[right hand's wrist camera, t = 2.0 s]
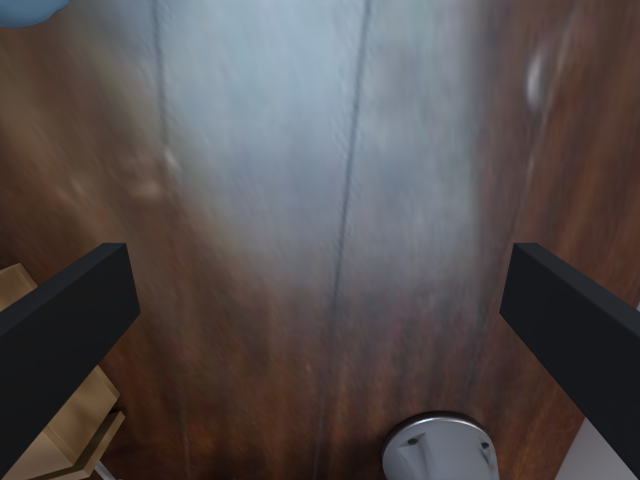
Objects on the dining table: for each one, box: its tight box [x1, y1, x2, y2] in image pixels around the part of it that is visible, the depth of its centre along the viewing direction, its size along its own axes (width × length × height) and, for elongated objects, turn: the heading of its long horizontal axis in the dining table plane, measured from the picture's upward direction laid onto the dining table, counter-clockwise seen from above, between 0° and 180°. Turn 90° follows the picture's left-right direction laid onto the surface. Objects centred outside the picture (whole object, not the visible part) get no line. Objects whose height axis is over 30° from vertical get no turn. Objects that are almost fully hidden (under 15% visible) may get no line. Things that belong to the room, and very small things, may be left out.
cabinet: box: [0, 263, 120, 480], centre depth 40 cm, size 20×10×10 cm, turn 21°
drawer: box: [27, 411, 125, 480], centre depth 42 cm, size 25×8×8 cm, turn 21°
